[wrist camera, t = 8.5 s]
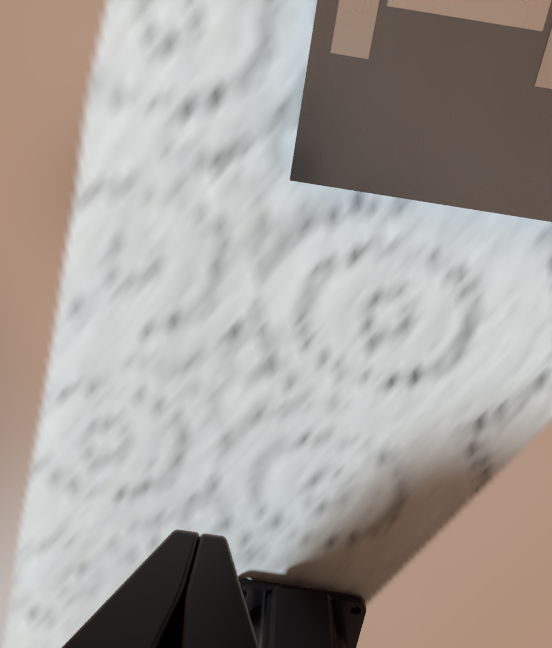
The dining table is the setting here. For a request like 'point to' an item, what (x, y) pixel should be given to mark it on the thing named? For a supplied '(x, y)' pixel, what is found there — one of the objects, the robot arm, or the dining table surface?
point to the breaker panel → (431, 102)
